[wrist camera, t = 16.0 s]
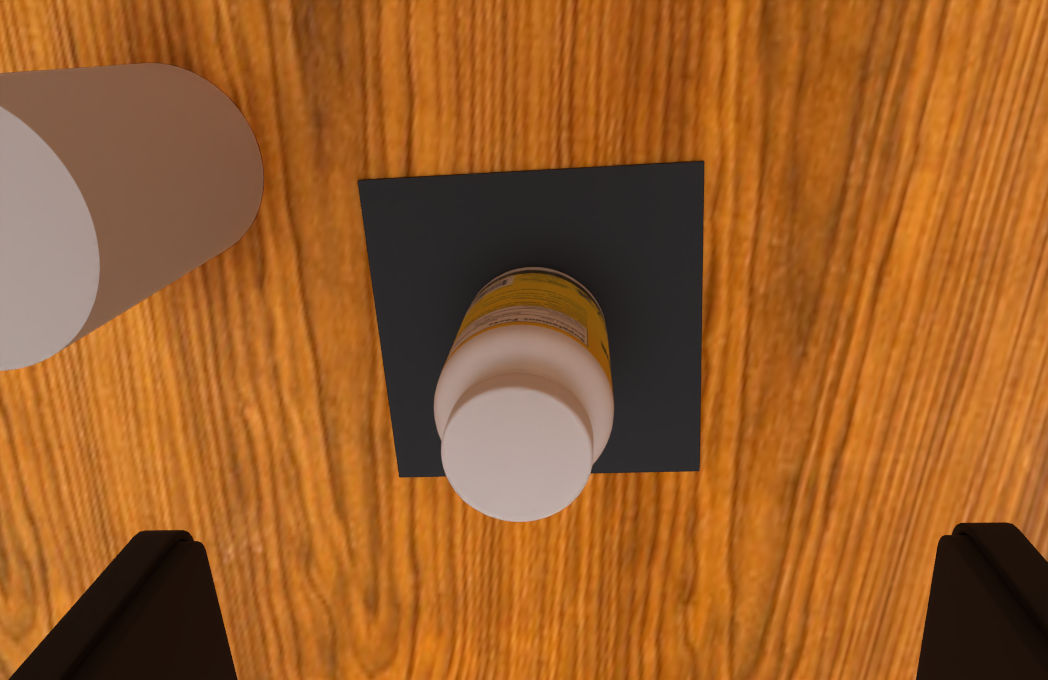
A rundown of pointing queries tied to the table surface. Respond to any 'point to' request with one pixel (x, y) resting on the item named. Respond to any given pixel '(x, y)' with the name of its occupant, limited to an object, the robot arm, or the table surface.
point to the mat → (560, 244)
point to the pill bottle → (525, 395)
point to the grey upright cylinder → (112, 194)
